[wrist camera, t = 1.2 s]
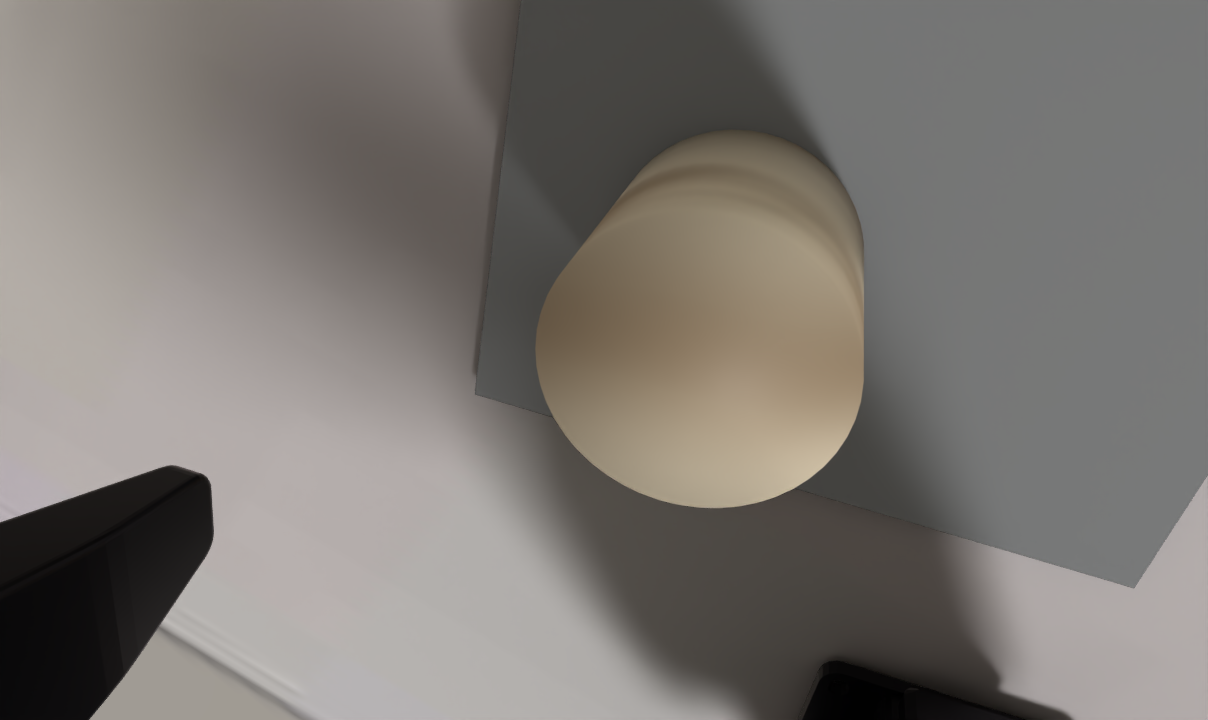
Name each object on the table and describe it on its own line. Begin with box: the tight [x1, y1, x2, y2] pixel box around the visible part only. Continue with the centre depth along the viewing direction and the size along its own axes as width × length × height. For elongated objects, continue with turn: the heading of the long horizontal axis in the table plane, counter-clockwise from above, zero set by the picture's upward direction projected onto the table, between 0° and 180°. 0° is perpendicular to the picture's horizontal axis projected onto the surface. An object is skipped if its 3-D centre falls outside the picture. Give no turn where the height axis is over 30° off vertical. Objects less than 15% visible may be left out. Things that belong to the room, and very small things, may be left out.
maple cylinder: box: [535, 130, 864, 508], centre depth 16 cm, size 5×5×5 cm
